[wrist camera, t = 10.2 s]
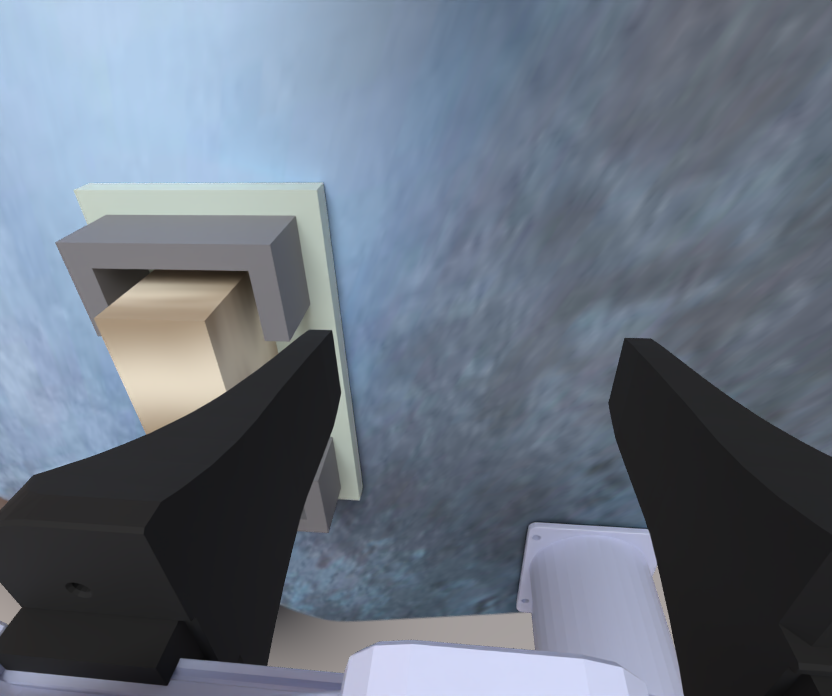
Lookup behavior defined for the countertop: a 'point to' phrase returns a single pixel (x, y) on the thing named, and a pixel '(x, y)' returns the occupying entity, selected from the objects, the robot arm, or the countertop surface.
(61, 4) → the countertop surface
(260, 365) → the slat
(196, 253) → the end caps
